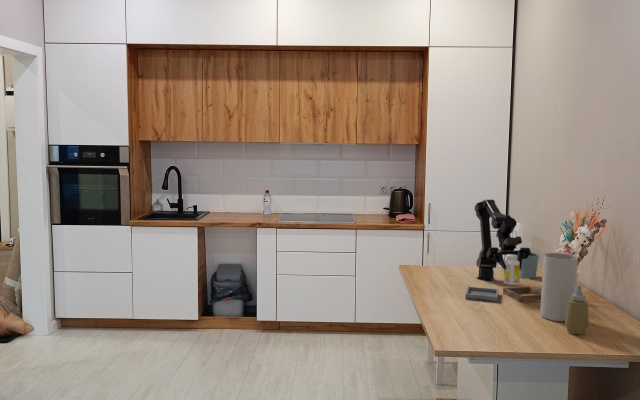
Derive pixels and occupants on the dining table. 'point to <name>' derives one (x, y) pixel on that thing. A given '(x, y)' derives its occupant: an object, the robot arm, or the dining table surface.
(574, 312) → the squeeze bottle
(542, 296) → the cylinder vase
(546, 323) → the dining table surface
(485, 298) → the slate tray
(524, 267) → the teal tapered cup
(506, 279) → the supplement bottle
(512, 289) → the tray
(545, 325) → the dining table surface
